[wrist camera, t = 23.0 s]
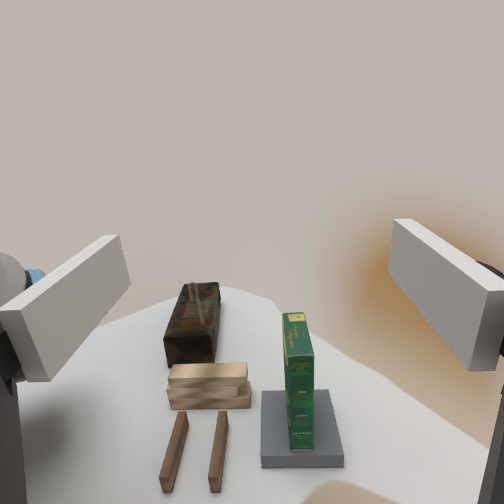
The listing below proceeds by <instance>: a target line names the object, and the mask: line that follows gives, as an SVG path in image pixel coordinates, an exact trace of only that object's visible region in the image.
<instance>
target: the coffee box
mask: <svg viewBox="0 0 504 504" xmlns="http://www.w3.org/2000/svg"><path fill="white" fill-rule="evenodd" d="M282 327H283V351H284V371H285V389H286V408H287V420H288V431H289V443H290V450H291V451H310V450H313V449H314V352H313V348H312V344H311V340H310V336H309V332H308V328H307V323H306V320H305V315H304V313H303V312H302V313H283V314H282Z"/></svg>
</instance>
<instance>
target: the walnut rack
mask: <svg viewBox="0 0 504 504" xmlns="http://www.w3.org/2000/svg"><path fill="white" fill-rule="evenodd" d="M188 428H189V423H188V418H187V413H186V411H181V412H178V415H177V418H176V421H175V425H174V428H173V431H172V435H171V438H170V441H169V445H168V448H167V451H166V455H165V458H164V461H163V465H162V468H161V471H160V475H159V480H160V483H161V487H162V490H163V492H172V491H173V487H174V483H175V479H176V475H177V471H178V467H179V463H180V459H181V455H182V451H183V447H184V443H185V439H186V435H187V432H188ZM227 433H228V418H227V411H219V412H218V418H217V425H216V431H215V437H214V443H213V449H212V455H211V462H210V468H209V474H208V480H209V485H210V490H211V492H220V490H221V482H222V474H223V466H224V458H225V449H226V441H227Z"/></svg>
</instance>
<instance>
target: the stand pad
mask: <svg viewBox="0 0 504 504" xmlns="http://www.w3.org/2000/svg"><path fill="white" fill-rule="evenodd" d="M343 462H344V453H343V449H342V445H341V441H340V436H339V432H338V428H337V424H336V419H335V415H334V411H333V407H332V403H331V398H330V394H329V390H328V389H327V390H314V449H313V450H310V451H291V450H290V443H289V431H288V420H287V408H286V390H281V391H262V411H261V463H262V468H322V467H343Z"/></svg>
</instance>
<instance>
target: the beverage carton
mask: <svg viewBox="0 0 504 504" xmlns="http://www.w3.org/2000/svg"><path fill="white" fill-rule="evenodd" d="M220 301H221V297H220V290H219V283H218V282H210V283H194V282H191V283H189V284H184V286H183V288H182V291H181V293H180V295H179V298H178V300H177V303H176V306H175V308H174V310H173V313H172V316H171V319H170V321H169V324H168V327H167V329H166V332H165V335H164V338H163V341H164V347H165V352H166V357H167V363H168V367H172V366H173V364H207V363H214V358H215V352H216V344H217V336H218V326H219V315H220Z"/></svg>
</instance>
